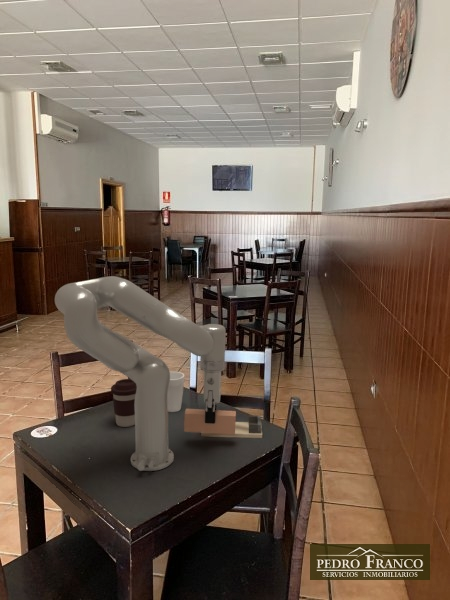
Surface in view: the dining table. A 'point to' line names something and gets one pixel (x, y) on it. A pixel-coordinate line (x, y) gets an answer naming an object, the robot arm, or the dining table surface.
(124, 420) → the coffee cup
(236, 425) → the board
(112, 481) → the dining table surface
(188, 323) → the robot arm
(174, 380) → the foam cup
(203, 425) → the orange brown rectangular block
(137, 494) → the dining table surface
